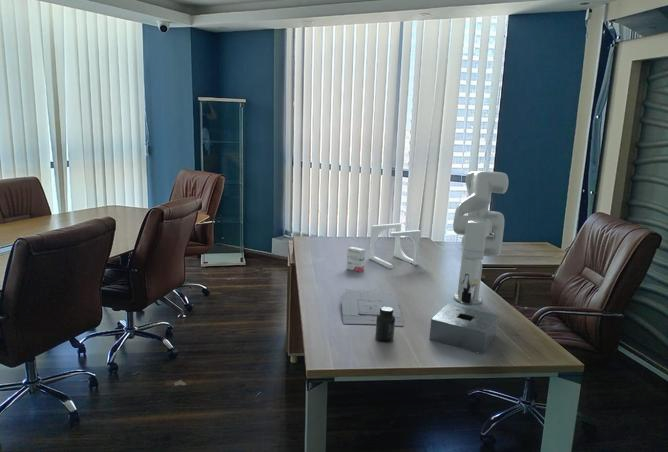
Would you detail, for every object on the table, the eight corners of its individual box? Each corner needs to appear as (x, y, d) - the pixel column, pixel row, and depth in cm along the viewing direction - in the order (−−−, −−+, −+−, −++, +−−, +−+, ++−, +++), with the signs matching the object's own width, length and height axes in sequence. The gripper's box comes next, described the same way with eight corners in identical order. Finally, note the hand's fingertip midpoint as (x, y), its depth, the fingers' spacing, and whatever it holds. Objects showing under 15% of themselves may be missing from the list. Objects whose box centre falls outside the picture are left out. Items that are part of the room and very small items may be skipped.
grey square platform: (445, 322, 203) (448, 303, 201) (495, 334, 193) (498, 315, 192) (429, 339, 186) (431, 318, 184) (482, 354, 176) (485, 332, 175)
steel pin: (461, 299, 191) (464, 275, 189) (477, 302, 188) (480, 279, 186) (456, 303, 185) (459, 279, 183) (472, 307, 183) (475, 283, 181)
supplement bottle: (392, 335, 188) (394, 305, 185) (394, 343, 181) (397, 312, 179) (374, 334, 188) (376, 304, 185) (376, 342, 181) (378, 311, 178)
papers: (393, 296, 225) (394, 289, 224) (403, 332, 197) (404, 324, 196) (340, 294, 224) (341, 287, 223) (342, 329, 196) (343, 321, 195)
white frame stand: (417, 264, 282) (421, 230, 278) (389, 268, 272) (392, 233, 268) (396, 255, 299) (399, 223, 295) (369, 258, 289) (371, 225, 285)
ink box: (364, 270, 266) (366, 249, 264) (360, 272, 262) (361, 250, 260) (350, 266, 271) (352, 246, 268) (346, 268, 267) (347, 247, 264)
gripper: (469, 247, 191) (463, 292, 195) (456, 256, 177) (450, 304, 181) (488, 251, 188) (482, 296, 192) (477, 260, 174) (471, 309, 177)
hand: (467, 300), depth 186 cm, fingers closed on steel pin, 4 cm apart
